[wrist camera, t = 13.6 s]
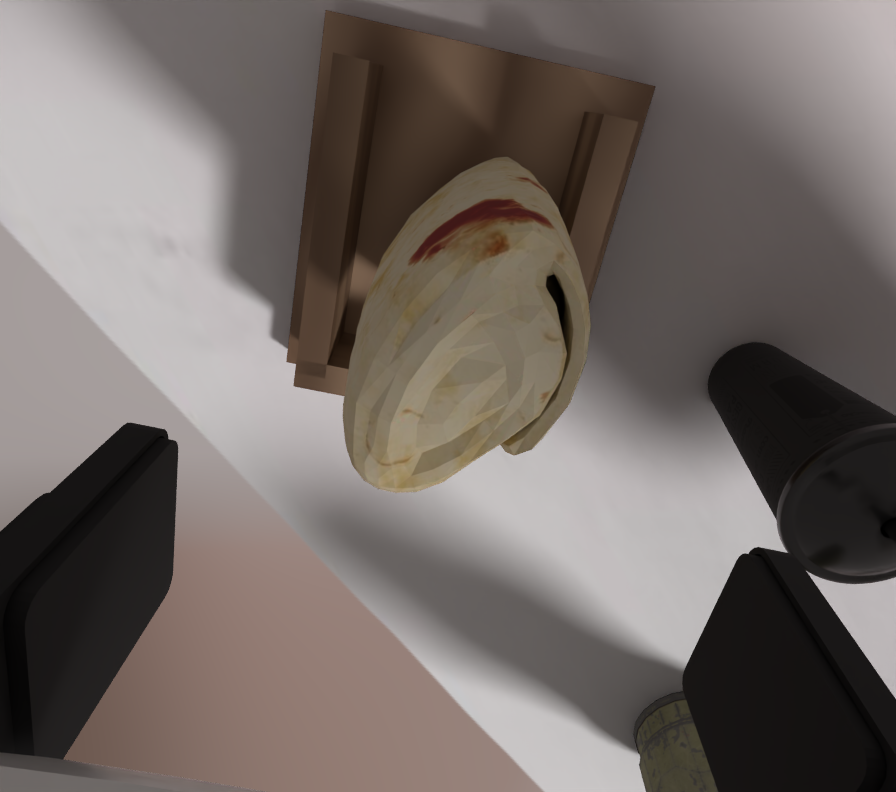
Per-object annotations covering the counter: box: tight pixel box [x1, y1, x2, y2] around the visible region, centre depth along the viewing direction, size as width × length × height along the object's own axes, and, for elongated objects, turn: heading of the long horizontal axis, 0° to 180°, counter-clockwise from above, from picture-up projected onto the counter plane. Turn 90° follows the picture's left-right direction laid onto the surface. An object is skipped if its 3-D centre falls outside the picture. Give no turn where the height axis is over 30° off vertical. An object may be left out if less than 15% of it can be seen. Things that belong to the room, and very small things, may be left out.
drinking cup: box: [708, 343, 896, 584], centre depth 31 cm, size 8×8×20 cm
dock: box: [287, 10, 655, 396], centre depth 33 cm, size 16×18×6 cm
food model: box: [343, 157, 591, 493], centre depth 26 cm, size 10×7×20 cm
